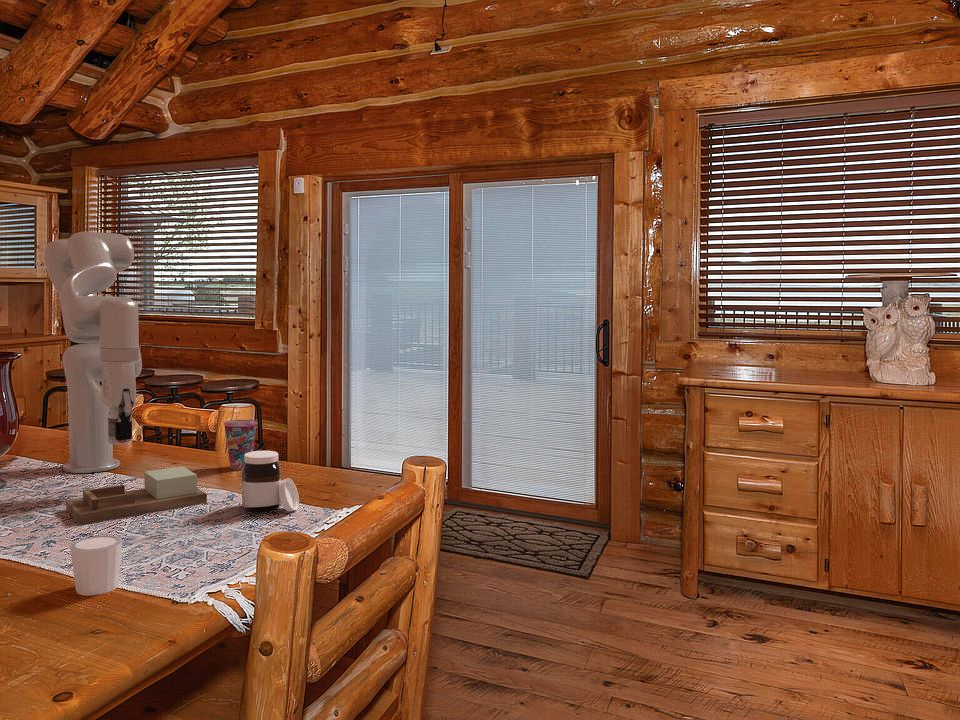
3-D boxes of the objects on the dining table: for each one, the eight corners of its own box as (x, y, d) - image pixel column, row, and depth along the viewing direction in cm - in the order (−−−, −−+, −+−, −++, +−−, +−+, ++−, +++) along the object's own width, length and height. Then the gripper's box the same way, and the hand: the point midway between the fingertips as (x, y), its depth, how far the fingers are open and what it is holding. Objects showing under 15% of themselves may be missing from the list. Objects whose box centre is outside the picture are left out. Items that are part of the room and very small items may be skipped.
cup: (216, 469, 174) (215, 423, 173) (239, 462, 181) (239, 418, 180) (245, 473, 170) (244, 426, 169) (267, 466, 178) (267, 421, 177)
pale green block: (144, 489, 147) (144, 471, 146) (182, 483, 152) (182, 466, 152) (157, 499, 140) (157, 480, 140) (197, 492, 145) (196, 474, 145)
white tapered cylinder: (109, 574, 107) (108, 531, 106) (132, 585, 103) (131, 541, 102) (62, 589, 101) (61, 543, 101) (85, 601, 97) (83, 554, 97)
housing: (66, 509, 138) (65, 490, 138) (187, 490, 154) (187, 473, 154) (79, 525, 129) (78, 504, 129) (206, 502, 145) (206, 484, 145)
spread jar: (240, 503, 146) (240, 450, 145) (294, 498, 150) (294, 446, 149) (244, 520, 135) (244, 462, 134) (302, 514, 139) (302, 458, 138)
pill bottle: (122, 446, 148) (121, 408, 147) (103, 443, 149) (102, 406, 148) (137, 441, 152) (137, 404, 151) (118, 439, 153) (118, 402, 152)
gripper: (91, 351, 152) (92, 431, 154) (110, 360, 139) (111, 447, 142) (127, 350, 157) (128, 427, 159) (149, 359, 144) (150, 443, 147)
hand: (120, 436), depth 150 cm, fingers closed on pill bottle, 4 cm apart
